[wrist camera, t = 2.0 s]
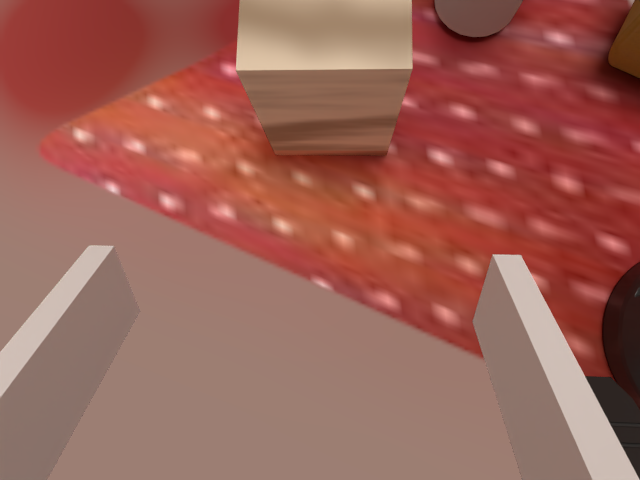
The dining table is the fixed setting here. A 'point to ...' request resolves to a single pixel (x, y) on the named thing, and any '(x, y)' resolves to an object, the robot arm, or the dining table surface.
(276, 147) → the birch block
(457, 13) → the can
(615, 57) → the flower pot
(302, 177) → the dining table surface
